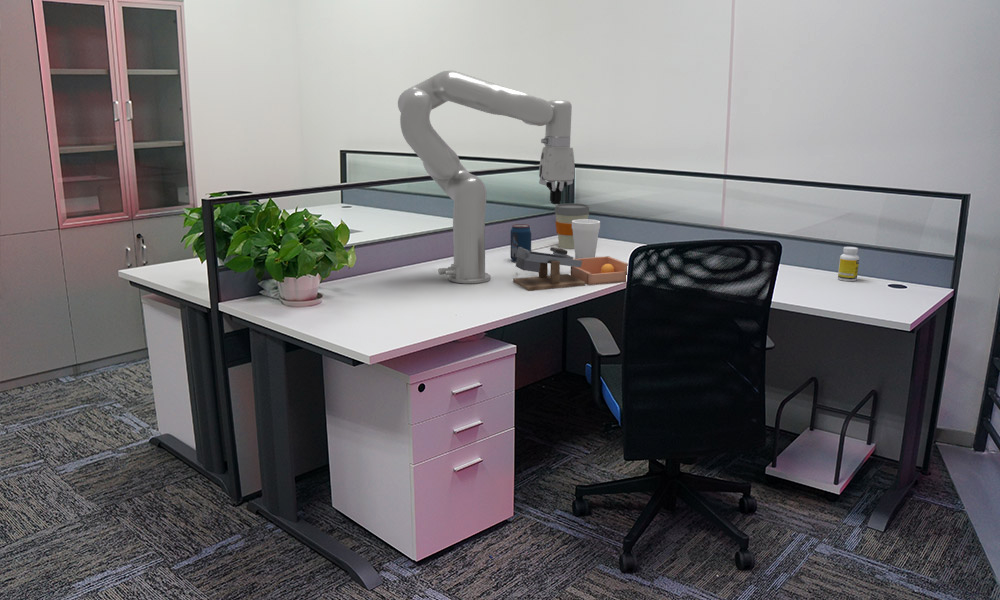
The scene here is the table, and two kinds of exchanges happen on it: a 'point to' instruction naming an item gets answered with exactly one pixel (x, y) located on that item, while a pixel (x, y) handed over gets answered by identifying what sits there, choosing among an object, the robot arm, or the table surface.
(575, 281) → the lever stand
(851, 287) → the table surface
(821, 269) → the table surface
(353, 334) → the table surface
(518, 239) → the soda can
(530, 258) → the lever
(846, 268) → the supplement bottle
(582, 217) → the reusable coffee cup
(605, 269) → the ball
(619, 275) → the bin
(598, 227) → the foam cup
